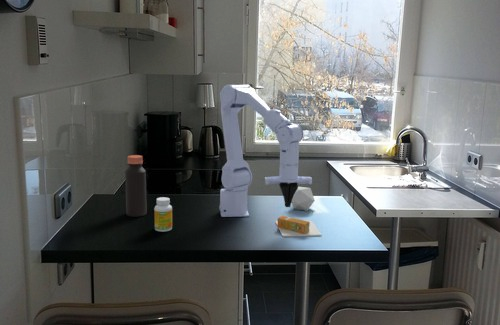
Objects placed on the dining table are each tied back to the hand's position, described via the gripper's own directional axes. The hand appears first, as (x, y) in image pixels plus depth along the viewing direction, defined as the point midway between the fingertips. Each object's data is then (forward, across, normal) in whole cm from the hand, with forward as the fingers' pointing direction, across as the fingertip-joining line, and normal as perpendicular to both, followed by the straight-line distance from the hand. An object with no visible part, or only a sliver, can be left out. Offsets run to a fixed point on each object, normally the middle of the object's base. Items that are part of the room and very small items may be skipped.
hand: (287, 206), depth 155 cm
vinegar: (+8, -48, +18) cm, 52 cm away
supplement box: (+5, -2, +2) cm, 6 cm away
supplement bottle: (+8, -38, +2) cm, 39 cm away
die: (+8, +10, +22) cm, 25 cm away
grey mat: (+7, +4, 0) cm, 8 cm away
